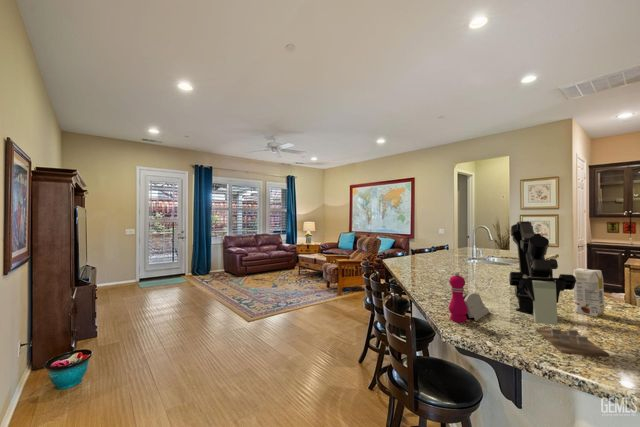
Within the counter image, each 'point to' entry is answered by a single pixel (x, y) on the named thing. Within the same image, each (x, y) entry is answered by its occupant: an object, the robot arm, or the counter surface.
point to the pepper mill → (457, 299)
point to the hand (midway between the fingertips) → (545, 301)
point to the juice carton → (589, 292)
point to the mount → (571, 342)
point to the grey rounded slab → (475, 306)
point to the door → (544, 302)
